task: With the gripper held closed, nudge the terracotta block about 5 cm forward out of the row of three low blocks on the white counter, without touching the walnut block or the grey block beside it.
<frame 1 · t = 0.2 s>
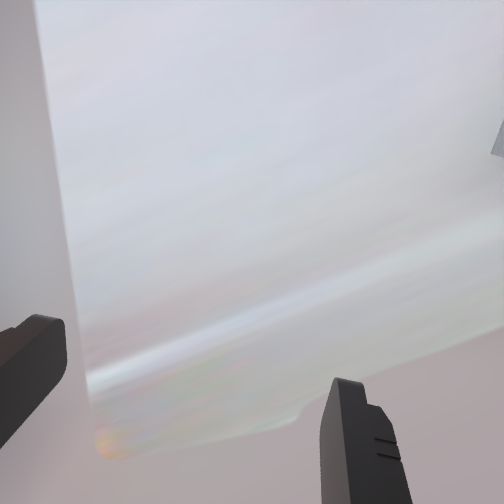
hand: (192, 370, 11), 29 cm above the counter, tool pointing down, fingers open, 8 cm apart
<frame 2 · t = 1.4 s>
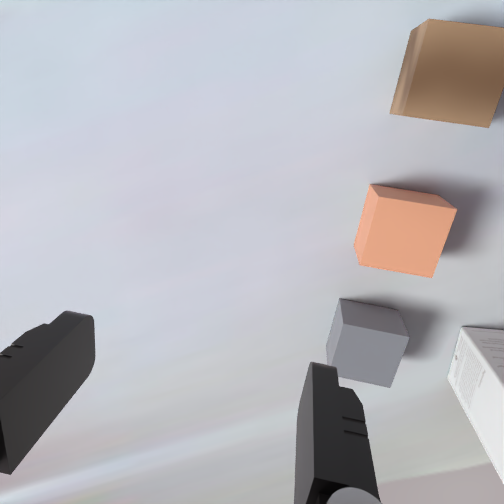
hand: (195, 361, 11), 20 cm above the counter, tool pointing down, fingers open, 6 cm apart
walnut block: (437, 79, 25), on the counter
small box: (500, 354, 32), on the counter
grey block: (360, 327, 32), on the counter
terracotta block: (393, 220, 29), on the counter
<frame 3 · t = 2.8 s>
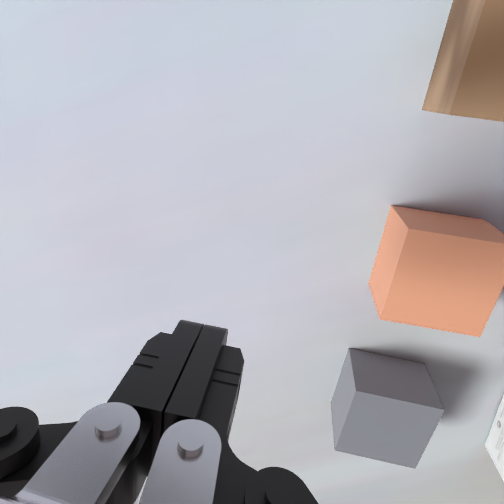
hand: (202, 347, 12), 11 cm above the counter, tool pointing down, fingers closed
walnut block: (491, 59, 17), on the counter
grey block: (375, 382, 26), on the counter
terracotta block: (422, 252, 21), on the counter
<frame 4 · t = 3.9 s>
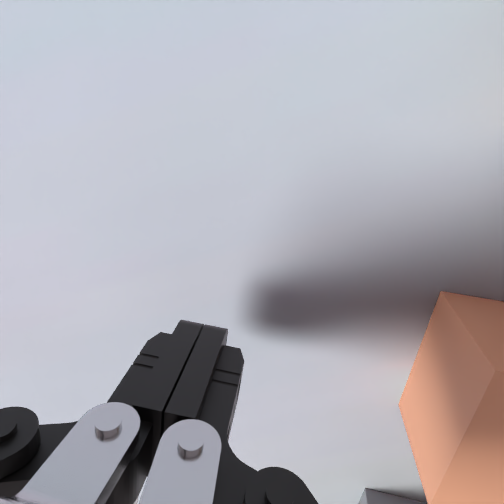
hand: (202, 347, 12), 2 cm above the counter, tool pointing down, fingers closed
terracotta block: (489, 362, 13), on the counter
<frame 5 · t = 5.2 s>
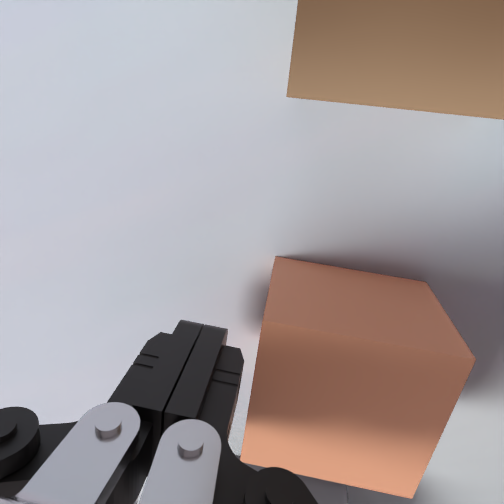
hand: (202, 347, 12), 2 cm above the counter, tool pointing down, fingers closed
walnut block: (404, 1, 9), on the counter
grey block: (279, 501, 17), on the counter
terracotta block: (333, 329, 13), on the counter, touching gripper
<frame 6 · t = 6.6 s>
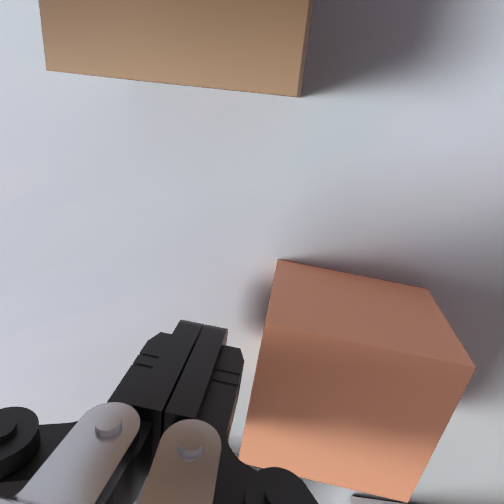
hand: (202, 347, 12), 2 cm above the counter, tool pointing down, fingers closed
terracotta block: (333, 332, 13), on the counter
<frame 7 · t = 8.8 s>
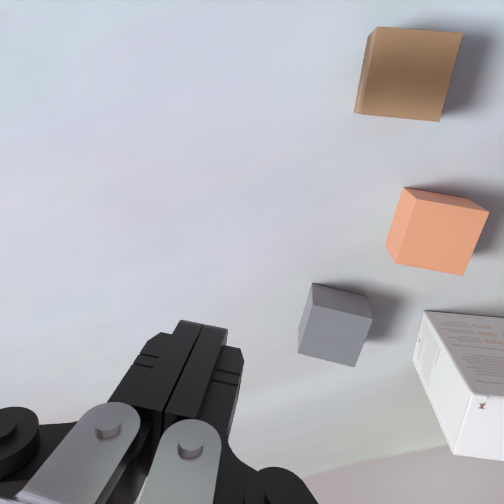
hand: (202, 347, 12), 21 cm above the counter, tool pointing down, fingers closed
walnut block: (395, 79, 27), on the counter
small box: (461, 337, 34), on the counter
grey block: (331, 311, 35), on the counter
terracotta block: (424, 222, 30), on the counter
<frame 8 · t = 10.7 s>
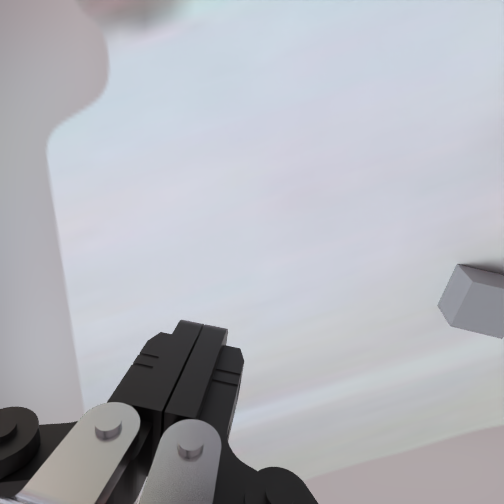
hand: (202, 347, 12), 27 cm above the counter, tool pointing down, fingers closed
grey block: (470, 290, 38), on the counter
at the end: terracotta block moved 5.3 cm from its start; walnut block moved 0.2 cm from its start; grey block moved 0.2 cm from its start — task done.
